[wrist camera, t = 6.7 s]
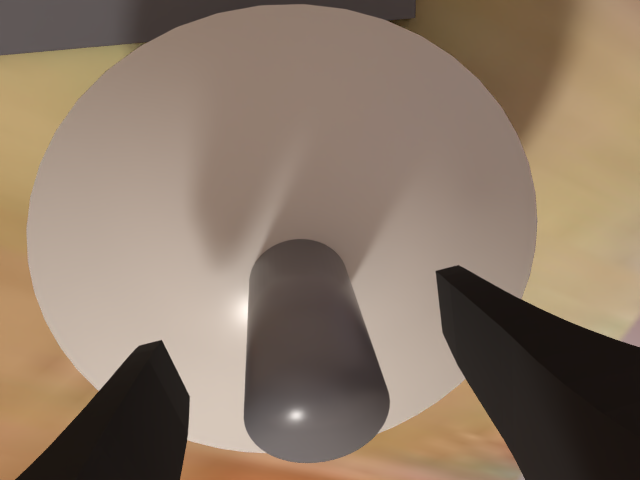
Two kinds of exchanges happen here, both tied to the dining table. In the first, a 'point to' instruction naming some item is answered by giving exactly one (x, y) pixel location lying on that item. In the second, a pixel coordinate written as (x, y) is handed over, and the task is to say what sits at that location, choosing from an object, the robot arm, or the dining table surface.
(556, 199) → the dining table surface
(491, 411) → the robot arm
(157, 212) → the lid
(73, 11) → the mat
